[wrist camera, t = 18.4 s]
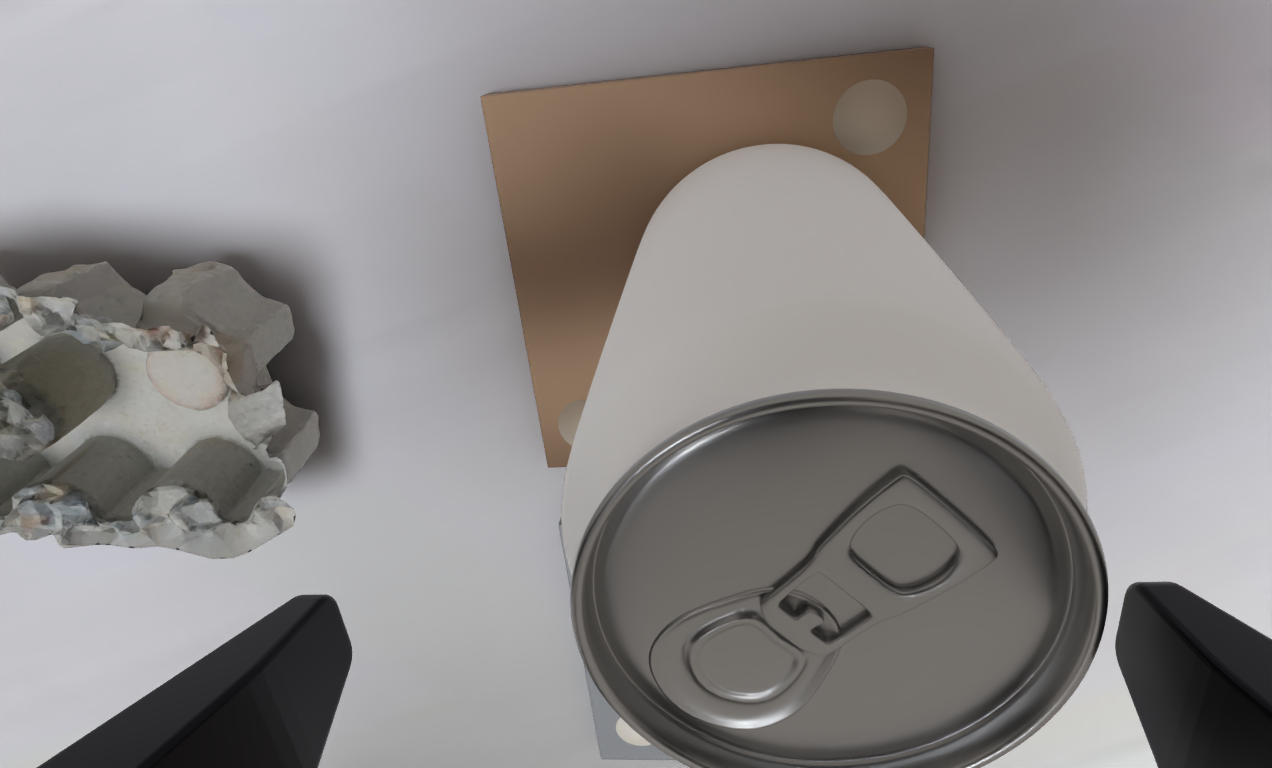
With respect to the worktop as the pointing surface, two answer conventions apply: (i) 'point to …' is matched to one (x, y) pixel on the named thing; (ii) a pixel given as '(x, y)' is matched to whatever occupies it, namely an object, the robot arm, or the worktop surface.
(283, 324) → the egg carton
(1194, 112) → the worktop surface
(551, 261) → the walnut mat
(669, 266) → the can
